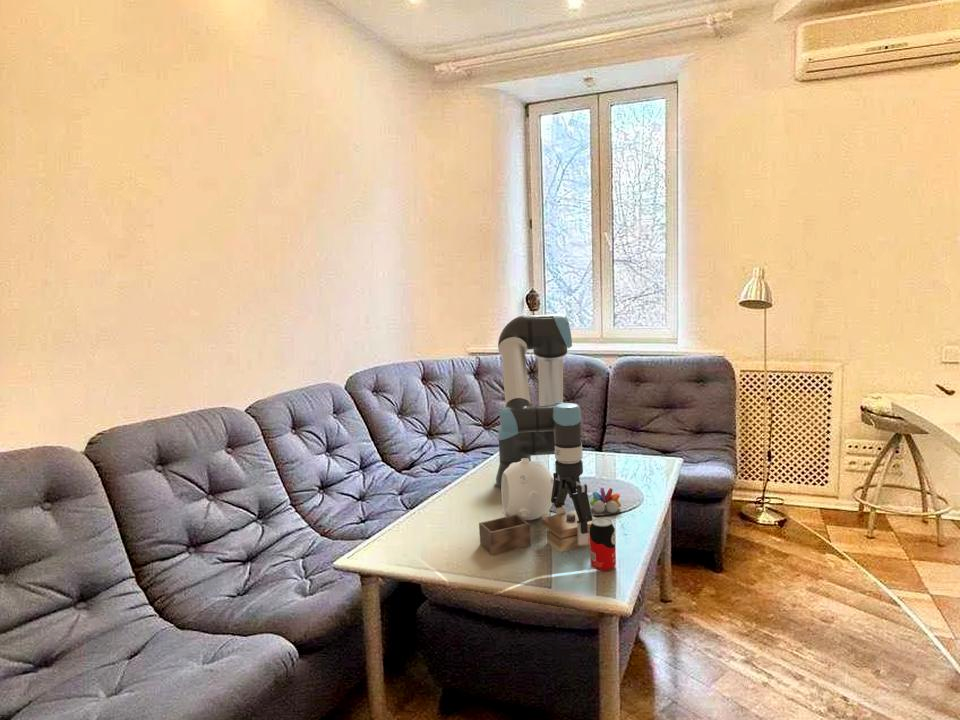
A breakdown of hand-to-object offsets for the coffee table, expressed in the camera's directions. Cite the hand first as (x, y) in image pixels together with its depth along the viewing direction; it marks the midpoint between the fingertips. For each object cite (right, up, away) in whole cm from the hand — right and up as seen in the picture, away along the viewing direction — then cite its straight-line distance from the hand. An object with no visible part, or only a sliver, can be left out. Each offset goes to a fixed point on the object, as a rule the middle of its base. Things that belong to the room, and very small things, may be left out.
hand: (571, 536), depth 166 cm
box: (-19, -3, +1) cm, 19 cm away
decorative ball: (-10, -1, +20) cm, 22 cm away
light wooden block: (0, -2, 0) cm, 2 cm away
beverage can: (+6, -4, -14) cm, 15 cm away
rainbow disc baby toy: (+15, +1, +25) cm, 29 cm away
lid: (0, +3, 0) cm, 3 cm away
